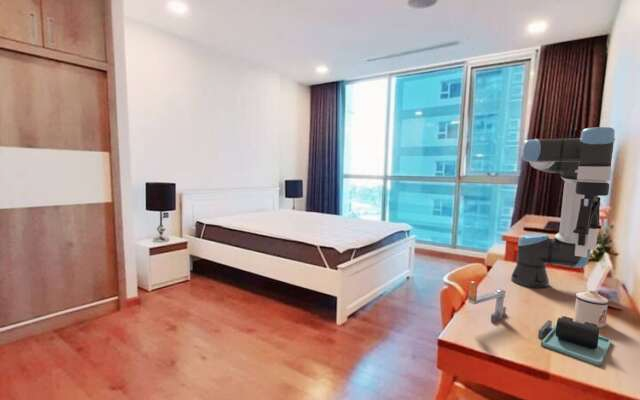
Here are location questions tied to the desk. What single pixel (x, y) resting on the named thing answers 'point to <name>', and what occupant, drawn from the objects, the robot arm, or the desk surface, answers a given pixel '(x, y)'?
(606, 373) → the desk surface
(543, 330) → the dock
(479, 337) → the desk surface
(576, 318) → the teacup with lid
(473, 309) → the desk surface
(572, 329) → the end cap
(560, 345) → the tray
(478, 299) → the crank handle
